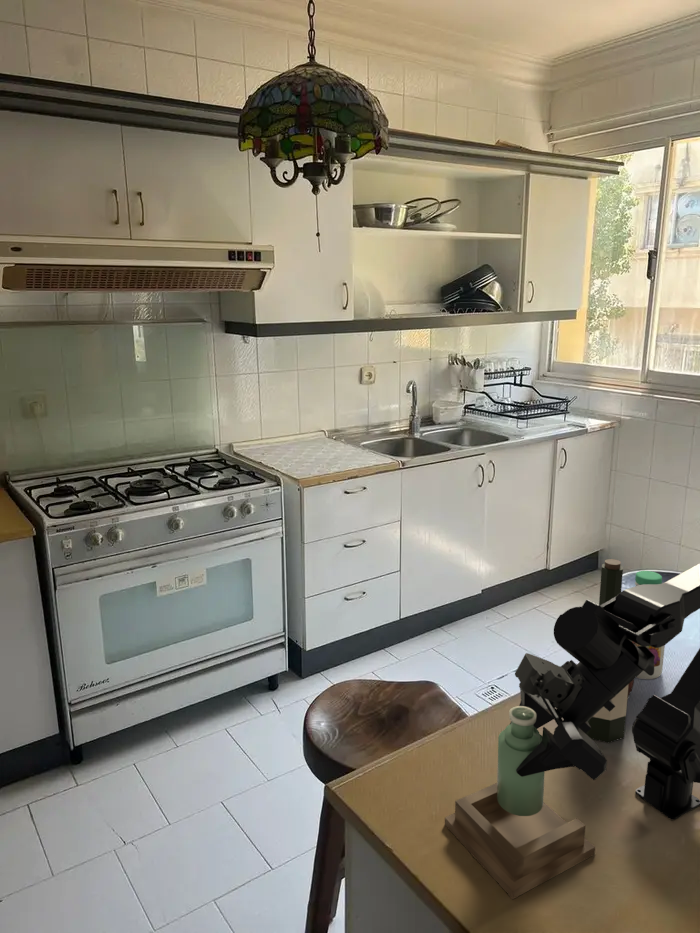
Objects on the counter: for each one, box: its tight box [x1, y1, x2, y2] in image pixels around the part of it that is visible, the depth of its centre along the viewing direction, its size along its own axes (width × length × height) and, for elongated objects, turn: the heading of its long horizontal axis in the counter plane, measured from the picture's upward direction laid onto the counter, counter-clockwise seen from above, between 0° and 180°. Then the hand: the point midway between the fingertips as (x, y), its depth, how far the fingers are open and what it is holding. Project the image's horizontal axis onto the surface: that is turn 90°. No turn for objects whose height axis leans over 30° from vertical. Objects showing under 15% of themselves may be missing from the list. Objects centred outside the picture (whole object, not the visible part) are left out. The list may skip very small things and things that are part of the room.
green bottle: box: [496, 705, 546, 816], centre depth 90 cm, size 6×6×13 cm
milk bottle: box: [634, 570, 666, 680], centre depth 131 cm, size 8×8×20 cm
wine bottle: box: [578, 558, 632, 743], centre depth 113 cm, size 8×8×30 cm
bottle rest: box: [444, 782, 596, 900], centre depth 92 cm, size 14×14×4 cm
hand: (511, 757), depth 90 cm, fingers closed on green bottle, 6 cm apart
